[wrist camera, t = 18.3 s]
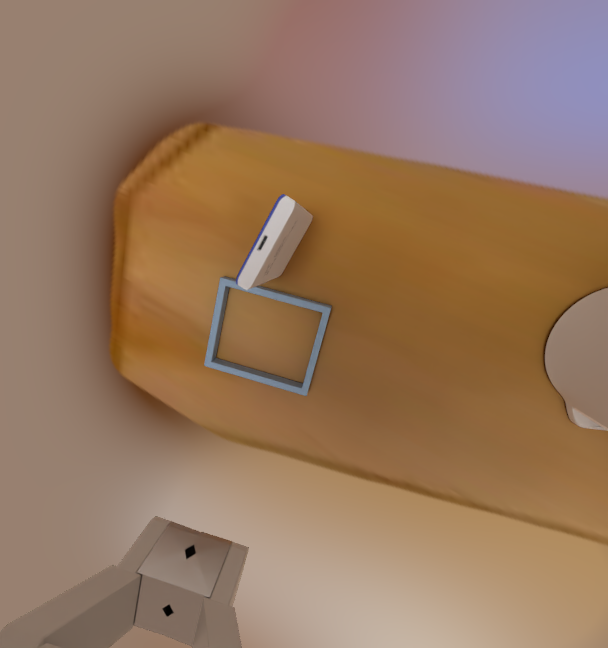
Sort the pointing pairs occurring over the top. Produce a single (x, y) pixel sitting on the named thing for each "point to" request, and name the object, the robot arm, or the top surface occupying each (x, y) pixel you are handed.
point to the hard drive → (275, 243)
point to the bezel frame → (249, 372)
